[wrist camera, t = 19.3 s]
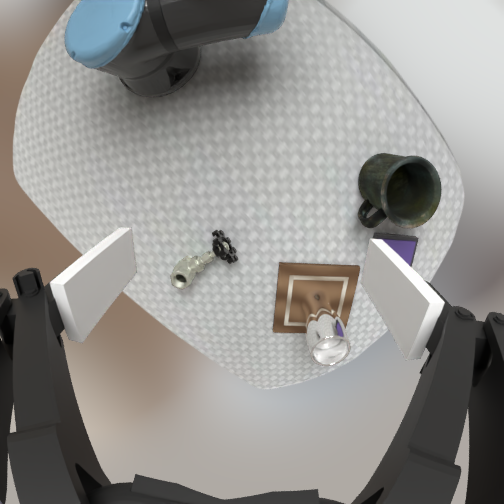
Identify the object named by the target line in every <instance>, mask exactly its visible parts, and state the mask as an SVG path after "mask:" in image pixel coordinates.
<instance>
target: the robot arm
mask: <svg viewBox="0 0 504 504" xmlns="http://www.w3.org/2000/svg"><path fill="white" fill-rule="evenodd" d="M287 8H288V0H81V1H80V3H79V4H78V5H77V7H76V9H75V11H74V12H73V13H72V15H71V17H70V19H69V21H68V24H67V27H66V31H65V47H66V50H67V52H68V54H69V55H70V57H71V58H72V59H74V60H75V61H77V62H79V63H82V64H83V65H85V66H86V67H88V68H94V69H97V70H100V71H104V72H107V73H110V74H113V75H116V76H118V77H119V78H120V80H121V82H122V83H123V85H124V86H125V87H126V88H127V89H129V90H130V91H132V92H134V93H136V94H139V95H142V96H146V97H159V96H163V95H167V94H169V93H172V92H174V91H176V90H177V89H179V88H180V87H182V86H183V85H184V84H185V83H186V82H187V81H188V80H189V79H190V78H191V77H192V75H193V74H194V72H195V71H196V69H197V67H198V64H199V61H200V55H201V50H200V46H201V45H206V44H210V43H215V42H220V41H225V40H230V39H236V38H243V39H247V38H250V37H252V36H256V35H262V34H269V33H272V32H274V31H276V30H277V29H279V28H280V27H281V26H282V24H283V22H284V20H285V17H286V13H287ZM136 273H137V267H136V260H135V252H134V244H133V235H132V228H119V229H117V230H116V231H115V232H113V233H112V234H110V235H109V236H108V237H106V238H105V239H104V240H102V241H101V242H100V243H98V244H97V245H96V246H94V247H93V248H92V249H91V250H89V251H88V252H87V253H85V254H84V255H83V256H82V257H80V258H79V259H78V260H76V261H75V262H74V263H73V264H72V265H70V266H69V267H67V268H66V269H65V270H63V271H62V273H60V274H59V275H57V277H55V278H54V279H53V280H52V281H51V282H49V283H48V284H47V285H46V286H45V287H44V285H43V282H42V279H41V275H40V271H39V269H37V268H28V269H25V270H22V271H20V272H18V273H17V274H16V275H15V276H14V277H13V282H14V285H15V288H16V291H17V294H18V299H11V298H10V295H9V293H8V290H7V289H0V336H1V338H2V341H1V339H0V504H5V501H6V492H7V461H8V453H9V459H10V465H11V469H12V474H13V479H14V483H15V487H16V491H17V495H18V499H19V502H20V504H344V503H341V502H337V501H334V500H329V499H325V498H319V495H318V489H315V490H303V491H281V492H269V493H264V494H259V495H254V496H248V497H242V498H235V499H228V500H223V499H219V498H215V497H212V496H209V495H206V494H203V493H201V492H198V491H195V490H192V489H190V488H187V487H185V486H182V485H180V484H177V483H172V482H167V481H162V480H157V479H153V478H149V477H144V476H140V475H137V474H135V478H134V481H133V483H131V482H129V483H116V484H111V482H110V481H109V479H108V478H107V477H106V475H105V474H104V472H103V470H102V469H101V467H100V464H99V462H98V460H97V458H96V455H95V453H94V450H93V447H92V445H91V442H90V440H89V437H88V434H87V432H86V429H85V426H84V423H83V420H82V417H81V414H80V410H79V407H78V404H77V400H76V397H75V393H74V390H73V386H72V382H71V378H70V373H69V369H68V365H67V360H66V355H65V350H64V345H63V340H62V337H61V335H60V333H61V332H62V331H63V330H64V329H65V331H66V333H67V336H68V339H69V340H72V341H76V342H80V343H83V342H84V340H85V339H86V337H87V336H88V335H89V333H90V332H91V331H92V329H93V328H94V327H95V325H96V324H97V322H98V321H99V320H100V319H101V317H102V316H103V315H104V313H105V312H106V311H107V309H108V308H109V307H110V306H111V304H112V303H113V301H114V300H115V299H116V298H117V297H118V295H119V294H120V293H121V292H122V290H123V289H124V288H125V287H126V285H127V284H128V283H129V282H130V280H131V279H132V278H133V277H134V276H135V274H136ZM361 284H362V286H363V288H364V289H365V291H366V293H367V294H368V296H369V297H370V299H371V301H372V302H373V304H374V306H375V307H376V309H377V311H378V312H379V314H380V316H381V317H382V319H383V321H384V323H385V324H386V326H387V328H388V329H389V331H390V333H391V335H392V336H393V338H394V340H395V342H396V344H397V345H398V347H399V349H400V351H401V353H402V354H403V356H404V358H405V360H414V359H420V358H421V356H422V354H423V352H424V350H425V348H427V349H428V351H429V352H430V354H429V356H428V358H427V360H426V362H425V364H424V365H423V367H422V369H421V371H420V373H421V377H420V379H419V383H418V385H417V387H416V390H415V393H414V395H413V397H412V400H411V402H410V405H409V407H408V409H407V411H406V414H405V416H404V418H403V420H402V422H401V424H400V427H399V429H398V431H397V433H396V435H395V437H394V439H393V441H392V442H391V445H390V446H389V448H388V450H387V452H386V454H385V455H384V457H383V459H382V461H381V462H380V464H379V466H378V468H377V469H376V471H375V473H374V474H373V476H372V477H371V479H370V481H369V482H368V484H367V485H366V487H365V488H364V489H363V491H362V492H361V493H360V494H359V496H357V497H356V499H355V500H354V501H353V502H352V503H351V504H451V501H452V499H453V496H454V493H455V491H456V488H457V485H458V482H459V479H460V475H461V467H460V466H458V465H455V464H454V462H455V458H456V454H457V451H458V447H459V444H460V440H461V436H462V432H463V428H464V423H465V419H466V414H467V409H468V414H469V445H470V446H469V472H468V485H467V493H466V501H465V504H504V315H502V314H501V313H496V312H490V313H489V314H488V316H487V318H486V320H485V322H482V321H476V319H475V316H474V315H473V314H472V313H471V312H470V311H469V310H467V309H465V308H463V307H459V306H453V307H452V306H451V305H450V304H449V303H448V302H447V301H446V300H445V299H444V297H443V296H442V295H440V293H439V292H438V291H437V290H435V288H434V287H433V286H432V285H431V284H430V283H429V282H427V281H425V280H424V279H422V278H421V277H420V276H419V275H418V274H417V273H416V272H415V271H414V270H413V269H412V268H411V267H410V266H409V265H408V264H407V263H406V262H405V261H404V260H403V259H402V258H401V257H400V256H399V255H398V254H397V253H396V252H395V251H394V250H393V249H392V248H391V247H389V246H388V245H387V244H386V243H385V242H384V241H383V240H382V239H370V240H369V245H368V250H367V256H366V260H365V265H364V270H363V275H362V279H361ZM13 404H14V410H15V421H16V432H13V433H10V424H11V416H12V409H13Z"/></svg>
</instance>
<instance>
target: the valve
mask: <svg viewBox="0 0 504 504" xmlns="http://www.w3.org/2000/svg"><path fill="white" fill-rule="evenodd" d="M212 235H213V236H215V235H216V236H217V238H216V239H214V240H213V244H212V246H213V251H212V252H210V251H208V252H206V253H204V254H203V255H202V257H198V256H194V257H192V258H190V257H188V256H186V257H184V258H183V259H181V260H180V261H179V262H178V263H177V264H176V265H175V267H174V269H173V272H172V274H171V276H170V277H171V283H172V285H173V286H174V287H176V288H178V289H181V290H183V289H185V288H186V287H188V286H189V285H190V284H191V281H192V280H193V279H194V277H195V274H196V272H201V271H203V270H204V265H205V263H207V264H208V263H210V262H211V261H213V260H214V257H215V256H217V257H220V258H221V259H222V260H227V262H228V263H229V264H231V263H232V262H233V263H234V262H236V261H238V257H237V256H236V255H235V254H234V253H236V252H237V251H236V249H235V248H234V247H232V246H231V244H230V242H231V240H230V239H229V238H228V237H227V238H226V237H225V236H224V233H223V231H222V230H220V231H218V230H215V231H214V232H212ZM222 240H223V241H224V242H222ZM228 250H229V252H230V253H229V252H228ZM225 255H226V256H227V257H224V256H225Z"/></svg>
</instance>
